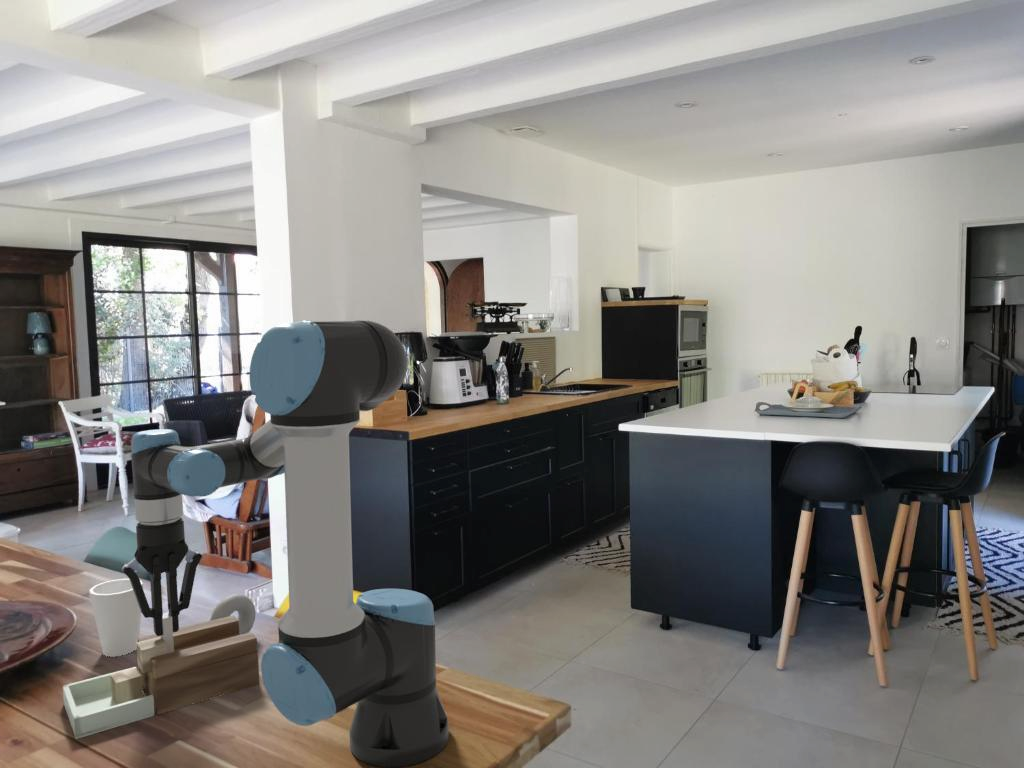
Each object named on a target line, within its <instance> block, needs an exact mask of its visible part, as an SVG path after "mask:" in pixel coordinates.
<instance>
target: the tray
mask: <svg viewBox="0 0 1024 768" xmlns="http://www.w3.org/2000/svg"><path fill="white" fill-rule="evenodd" d="M132 668H136V669H137V670H138V668H137V666H133V667H130V668H126V669H121V670H116V671H114V672H109V673H106V674H102V675H98V676H95V677H91V678H87V679H83V680H79V681H76V682H72V683H68V684H63V685H62V696H63V706H64V709H65V711H66V715H67V717H68V720H69V723H70V726H71V729H72V732H73V735H74V738H75V740H77V739H81V738H84V737H87V736H88V737H89V736H91V735H94V734H97V733H100V732H104V731H107V730H111V729H114V728H117V727H121V726H125V725H128V724H131V723H134V722H138V721H141V720H144V719H148V718H150V717H154V715H155V709H154V699H153V695H149V696H147V695H145V692H143V697H142V698H139V699H135V700H132V701H128V702H125V703H121V704H118V705H117V704H116V702H115V701H114V700H113V698H112V693H111V678H110V675H112V674H115V673H118V672H122V671H125V670H129V669H132Z"/></svg>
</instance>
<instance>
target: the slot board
mask: <svg viewBox="0 0 1024 768" xmlns="http://www.w3.org/2000/svg"><path fill="white" fill-rule="evenodd" d="M157 637H161V636H157V635H156V634H155V633H154V634H151V635H146V636H142V637H139V638H137V641H138V642H141V641H145V640H149V639H153V638H157ZM173 641H174V652H172V653H168V654H164V655H160V656H156V657H152V658H150V666H151V671H149V672H146V673H143V672H142V671H141V669H140V667H139V666H138V672H139V673H140V674H141V675H142V688H143V692H144V694H146V695H145V696H149V695H153V699H154V712H155V713H156V714H157V715H161V714H165V713H167V712H166V711H168V712H170V711H169V710H171V711H174V709H175V710H178V709H181V708H180V707H182V708H184V707H183V706H185V707H187V706H186V705H188V706H190V705H189V704H192V703H195V704H197V703H196V702H198V703H200V702H199V701H202V700H205V701H207V700H206V699H208V700H211V699H210V698H212V699H215V698H218V697H221V696H220V695H222V696H224V695H223V694H225V695H228V694H232V693H235V692H237V691H241V690H245V689H248V688H251V687H254V686H258V685H260V668H259V667H260V665H259V652H258V637H256V636H255V634H254V633H252V631H250V632H249V633H245V634H242V635H241V634H240V633H239V620H238V617H236V616H235V615H234V614H233V615H230V616H228V617H224V618H220V619H216V620H212V621H210V620H209V621H204V622H201V623H195V624H192V625H188V626H184V627H179V630H178V631H177V632H173ZM231 692H232V693H231ZM217 696H218V697H217ZM214 697H215V698H214ZM202 702H203V701H202ZM192 705H193V704H192ZM177 708H178V709H177ZM164 712H165V713H164Z"/></svg>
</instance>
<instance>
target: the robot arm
mask: <svg viewBox="0 0 1024 768" xmlns="http://www.w3.org/2000/svg"><path fill="white" fill-rule="evenodd" d="M407 372H408V357H407V352H406V350H405V347H404V344H403V343H402V342H401V339H400V338H398V335H396V333H394V331H392V330H391V329H389V328H388V327H387V326H385V325H383V324H380V323H377V322H375V321H370V320H352V321H350V320H347V321H346V320H344V321H343V320H340V321H335V320H334V321H331V320H330V321H309V320H303V321H296V322H289V323H282V324H281V323H280V324H277V325H275V326H273V327H271V328H270V329H268V330H267V331H266V332H265V333H264V334H263V335H262V337H261V338H260V340H259V341H258V342H257V343H256V346H255V348H254V350H253V352H252V356H251V360H250V364H249V387H250V390H251V394H252V395H253V396H255V399H254V401H255V403H256V405H257V406H258V407H259V409H261V411H263V412H265V413H266V414H269V415H270V419H269V420H267V422H265V423H264V424H263V425H261V426H259V428H258V429H256V430H255V431H254V432H252V433H251V434H250V435H248V436H247V437H244V438H241V439H233V440H228V441H221V442H215V443H209V444H201V445H195V446H183V445H181V441H180V438H179V437H180V436H179V434H178V432H177V430H174V429H167V428H166V429H165V428H163V429H162V428H161V429H160V428H159V429H148V430H141V431H138V432H136V433H134V434H133V435H132V436H131V444H130V445H131V453H130V458H131V469H132V482H133V483H132V484H133V495H134V510H135V511H134V512H135V520H136V521H137V523H136V524H135V530H136V532H135V533H136V545H137V547H136V550H135V552H134V558H133V559H131V560H130V561H129V562H128V563H123V564H122V565H121V570H122V572H123V573H124V574H125V576H127V578H128V579H130V582H131V585H132V588H133V591H134V593H135V596H136V599H137V602H138V605H139V607H140V610H141V615H143V617H144V618H148V619H149V618H151V619H152V620H153V633H154V634H156V635H157V636H161V637H162V638H163V640H164V641H165V642H166V644H167V654H168V653H172V652H174V641H173V632H177V631H178V630H179V628H180V626H179V625H180V624H179V615H180V612H181V611H183V610H187V609H188V608H189V607H190V603H191V598H192V593H193V587H194V582H195V577H196V571H197V567H198V565H199V564H200V562H201V560H202V558H203V555H202V554H201V553H200V552H199V551H198V550H192V549H191V548H189V546H188V544H187V543H186V540H185V539H186V538H185V536H186V535H185V523H184V522H185V521H184V519H183V515H184V504H183V495H184V496H188V497H193V498H194V497H199V498H202V497H207V496H210V495H212V494H213V493H215V492H216V491H218V490H219V489H220V488H224V487H229V486H233V485H239V484H242V483H248V482H252V481H253V482H254V481H258V480H265V479H271V478H274V477H276V476H279V475H280V476H281V475H284V494H285V495H284V496H285V519H286V521H285V523H286V525H285V526H286V545H287V546H286V550H287V552H286V553H287V573H288V575H287V577H288V579H287V580H288V601H289V602H288V604H289V607H288V609H286V611H285V612H284V613H283V614H282V615H281V616H280V618H279V620H278V624H277V625H278V629H277V631H278V642H276V643H272V644H271V645H270V646H269V647H268V648H267V649H266V650H265V651H264V653H263V654H262V657H261V662H260V663H261V665H260V669H261V670H260V672H261V676H262V680H263V681H262V682H263V684H264V687H265V688H264V689H265V690H266V693H267V696H268V697H269V698H270V701H271V702H272V703H273V705H274V707H275V709H276V710H277V711H278V712H279V713H280V714H281V716H283V717H284V718H285V719H287V720H288V721H289V722H291V723H292V724H295V725H297V726H301V727H302V726H303V727H307V726H312V725H314V724H316V723H318V722H322V721H323V720H328V719H332V718H333V717H334V716H335V715H336V714H337V713H340V712H342V711H344V710H346V709H347V708H349V707H351V706H353V705H354V704H356V703H357V704H356V706H355V707H356V708H355V711H354V714H353V718H352V720H351V725H350V728H349V748H350V750H351V753H352V754H353V756H355V757H356V758H357V759H358V760H360V761H361V762H363V763H365V764H369V765H371V766H375V767H383V768H398V767H407V766H411V765H416V764H419V763H422V762H424V761H427V760H429V759H431V758H433V757H434V756H436V755H437V754H439V753H440V752H441V751H442V750H443V749H444V748H445V747H446V745H447V744H448V741H449V738H450V733H449V719H448V716H447V713H446V711H445V707H444V706H443V703H442V700H441V697H440V694H439V692H438V690H437V678H436V677H437V676H436V674H437V673H436V672H437V670H436V669H437V667H436V663H437V662H436V624H437V623H436V620H435V615H434V614H435V612H434V604H433V602H432V600H431V599H430V598H429V596H427V595H425V594H424V593H421V592H418V591H415V590H411V589H410V590H409V589H404V588H379V589H377V588H376V589H370V590H367V591H363V592H362V593H360V594H359V595H358V596H357V598H356V603H355V602H354V582H353V581H354V578H353V577H354V576H353V572H354V571H353V543H352V542H353V541H352V507H351V506H352V505H351V504H352V503H351V472H350V471H351V470H350V469H351V467H350V433H351V431H352V430H353V429H354V428H355V427H356V426H357V425H358V424H359V423H360V421H361V420H360V419H361V418H360V416H361V415H360V412H369V411H373V410H375V409H376V408H377V407H379V406H380V405H381V404H383V403H385V402H386V401H388V400H389V399H390V398H391V397H392V396H395V394H396V393H397V392H398V391H399V389H400V388H401V386H402V385H403V383H404V381H405V379H406V375H407ZM184 559H185V561H186V563H185V565H184V566H185V567H184V571H183V577H182V583H181V588H180V593H179V594H178V579H177V577H178V570H177V569H178V567H179V566H180V565H181V563H182V562H183V560H184ZM139 565H141V566H142V567H143V569H145V570H146V571H147V573H149V574H148V575H149V581H150V595H151V596H150V597H151V607H150V605H149V602H148V599H147V597H146V594H145V591H144V587H143V588H142V585H141V582H140V580H141V579H140V577H139V576H138V574H137V573H139V571H140V569H139ZM163 573H165V580H166V598H167V610H168V611H167V612H163V596H162V595H163V594H162V574H163ZM178 595H179V596H178Z"/></svg>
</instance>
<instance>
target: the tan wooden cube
mask: <svg viewBox="0 0 1024 768" xmlns="http://www.w3.org/2000/svg"><path fill="white" fill-rule="evenodd" d="M131 668H132V667H131ZM136 668H137V667H136ZM136 668H132V669H129V670H125V669H124V670H125V671H122V672H118V673H115V674H112V675H110V678H111V693H112V698H113V700H114V701H115V702H116V704H117V705H118V704H121V703H125V702H128V701H132V700H135V699H139V698H142V697H143V693H144V690H143V688H142V675H141V674H140V673H139V669H138V668H137V669H136Z"/></svg>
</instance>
